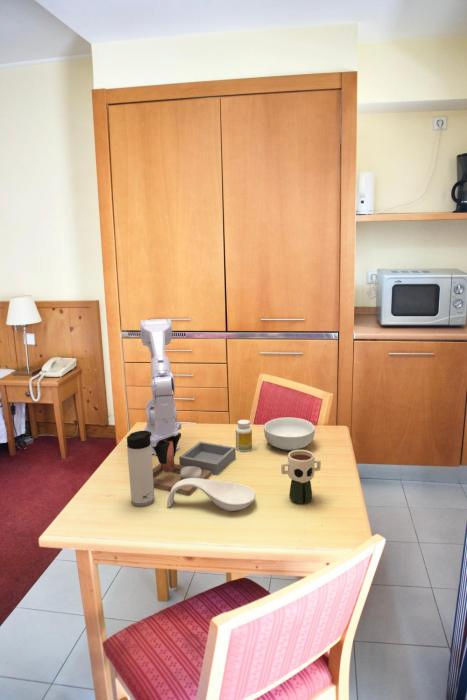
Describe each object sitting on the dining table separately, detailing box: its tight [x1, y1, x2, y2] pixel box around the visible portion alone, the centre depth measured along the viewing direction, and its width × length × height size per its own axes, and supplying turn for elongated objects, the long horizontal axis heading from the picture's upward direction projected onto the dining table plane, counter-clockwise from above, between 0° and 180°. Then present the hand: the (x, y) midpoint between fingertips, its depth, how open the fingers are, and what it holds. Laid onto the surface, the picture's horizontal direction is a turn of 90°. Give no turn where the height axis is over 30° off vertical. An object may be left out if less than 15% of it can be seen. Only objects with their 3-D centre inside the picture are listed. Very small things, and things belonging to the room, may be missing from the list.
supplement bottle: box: [235, 419, 253, 453], centre depth 178 cm, size 5×5×10 cm
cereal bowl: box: [263, 417, 316, 452], centre depth 180 cm, size 17×17×7 cm
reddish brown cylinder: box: [159, 438, 175, 473], centre depth 158 cm, size 4×4×9 cm
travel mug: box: [126, 430, 155, 508], centre depth 145 cm, size 6×7×20 cm
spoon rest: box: [166, 478, 257, 512], centre depth 144 cm, size 24×12×7 cm, turn 87°
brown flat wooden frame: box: [152, 463, 212, 496], centre depth 158 cm, size 17×13×4 cm
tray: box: [179, 441, 237, 476], centre depth 169 cm, size 13×13×4 cm
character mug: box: [280, 449, 322, 504], centre depth 145 cm, size 11×7×13 cm, turn 100°
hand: (167, 460), depth 158 cm, fingers closed on reddish brown cylinder, 4 cm apart
